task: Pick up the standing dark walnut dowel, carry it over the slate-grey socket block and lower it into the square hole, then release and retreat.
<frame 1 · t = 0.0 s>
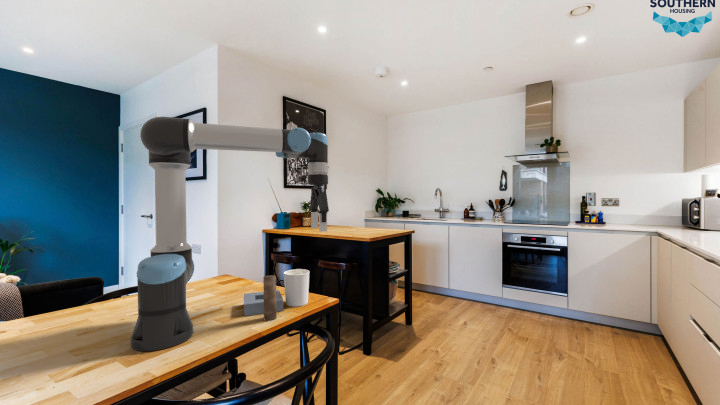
hand: (318, 229, 119), 28 cm above the table, fingers open, 13 cm apart
candle holder: (297, 303, 119), on the table
socket block: (263, 307, 115), on the table
peg: (270, 318, 104), on the table
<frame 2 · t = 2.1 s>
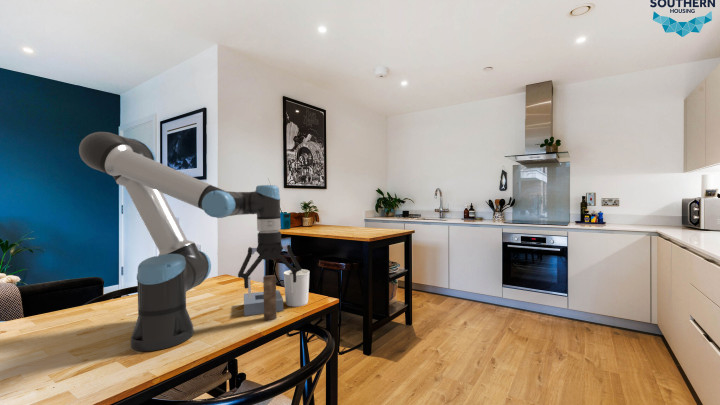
hand: (271, 295, 104), 8 cm above the table, fingers open, 13 cm apart
nothing on the table moved.
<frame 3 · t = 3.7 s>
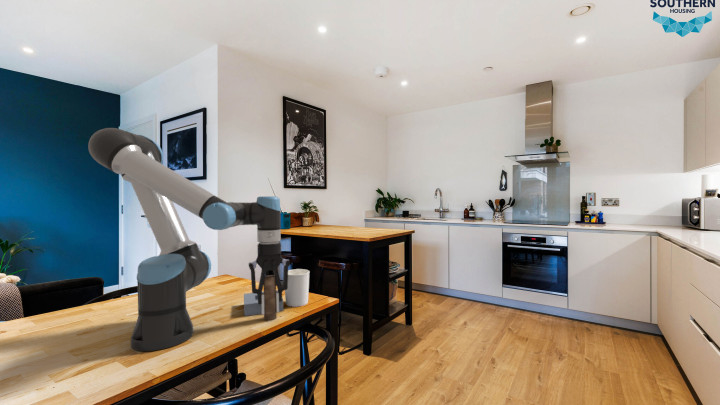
hand: (270, 312, 104), 2 cm above the table, fingers closed on peg, 4 cm apart
peg: (270, 318, 104), on the table, touching gripper
everything else where it was.
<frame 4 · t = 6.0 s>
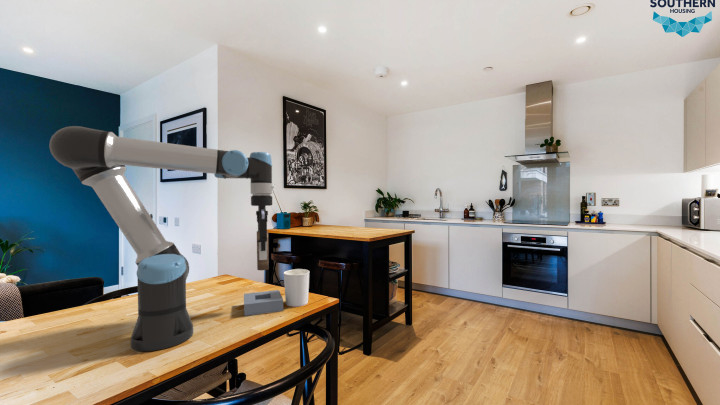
hand: (262, 258, 114), 18 cm above the table, fingers closed on peg, 4 cm apart
peg: (263, 269, 114), point 14 cm above the table, touching gripper
everything else where it was.
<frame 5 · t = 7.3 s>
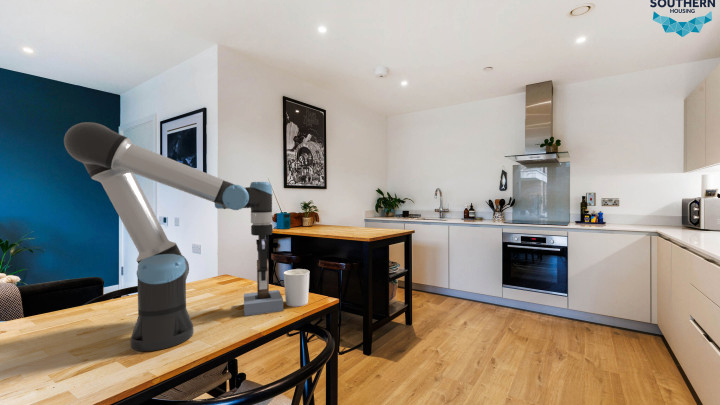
hand: (262, 287, 115), 8 cm above the table, fingers closed on peg, 4 cm apart
peg: (263, 297, 115), point 4 cm above the table, touching gripper
everything else where it was.
when the fingers open (5 cm above the table, at t = 8.5 s): peg stays where it is, resting in socket block.
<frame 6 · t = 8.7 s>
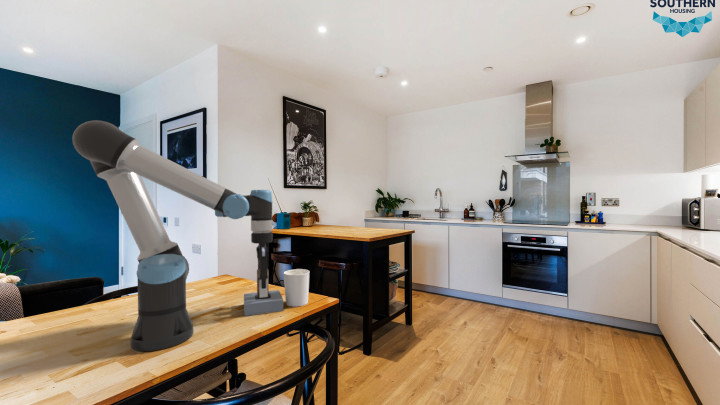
hand: (262, 293, 115), 5 cm above the table, fingers open, 7 cm apart
peg: (263, 307, 115), resting in socket block
everything else where it was.
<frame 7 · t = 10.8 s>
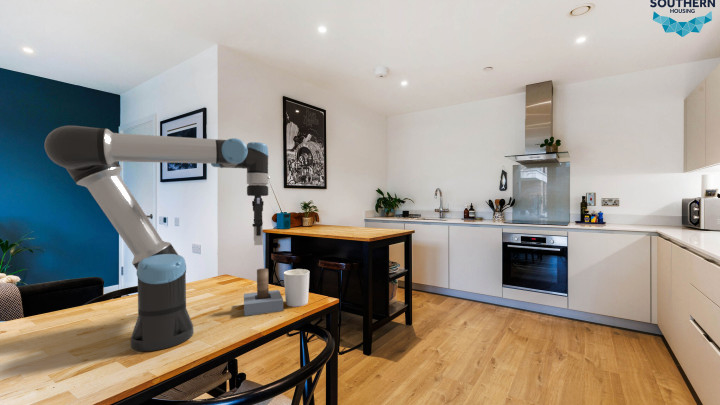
hand: (257, 242, 115), 24 cm above the table, fingers open, 13 cm apart
nothing on the table moved.
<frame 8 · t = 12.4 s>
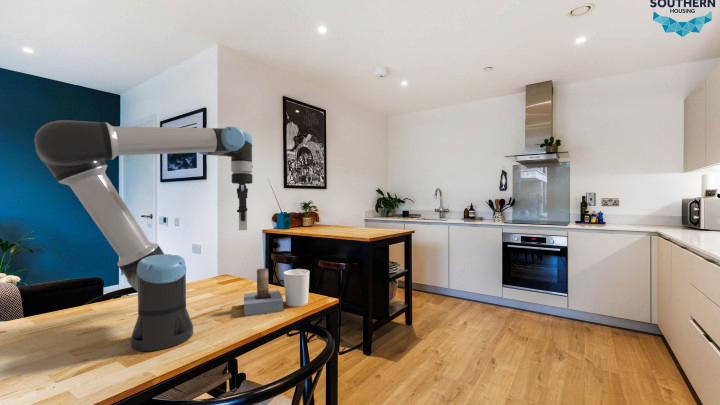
hand: (242, 228, 119), 29 cm above the table, fingers open, 13 cm apart
nothing on the table moved.
at the end: peg 0.0 cm off-centre on the socket block, point 0.0 cm above the socket block's base; peg tilted 0°; the gripper is holding nothing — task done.
